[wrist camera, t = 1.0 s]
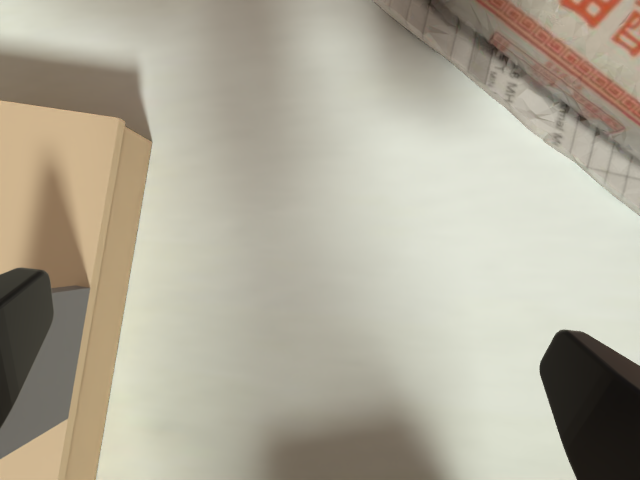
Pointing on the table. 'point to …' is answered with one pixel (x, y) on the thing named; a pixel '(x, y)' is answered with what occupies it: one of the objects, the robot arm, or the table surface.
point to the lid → (54, 264)
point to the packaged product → (550, 72)
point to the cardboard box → (109, 307)
